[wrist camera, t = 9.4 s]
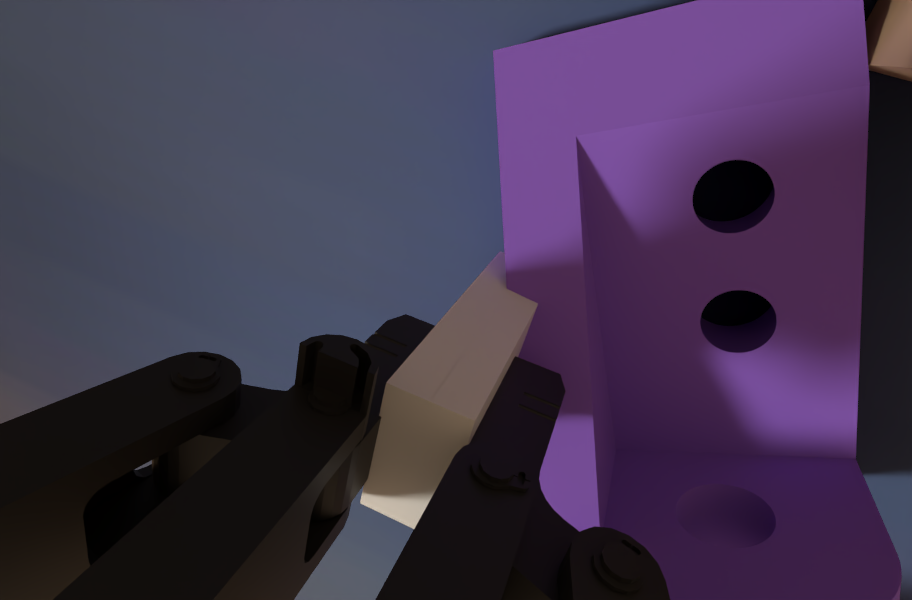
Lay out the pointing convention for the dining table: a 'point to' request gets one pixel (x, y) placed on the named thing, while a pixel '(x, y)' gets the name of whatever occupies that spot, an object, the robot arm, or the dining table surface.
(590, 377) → the bracket
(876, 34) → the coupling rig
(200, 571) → the robot arm
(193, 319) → the dining table surface
